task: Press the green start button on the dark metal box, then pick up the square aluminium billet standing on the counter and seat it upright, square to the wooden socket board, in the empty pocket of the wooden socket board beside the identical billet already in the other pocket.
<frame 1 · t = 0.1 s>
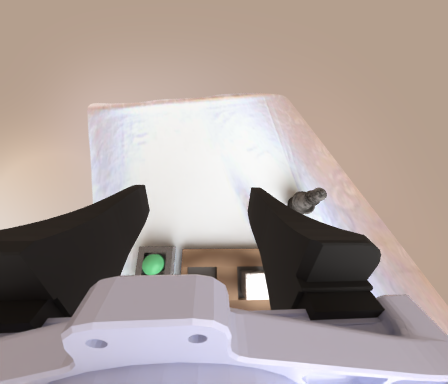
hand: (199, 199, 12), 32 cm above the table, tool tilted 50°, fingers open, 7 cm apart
salt shaker: (296, 206, 47), on the table
button box: (158, 263, 39), on the table
start button: (154, 264, 36), point 3 cm above the table, slide at 0.0 cm
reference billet: (250, 281, 39), point 1 cm above the table, touching wooden socket board
wooden socket board: (226, 281, 39), on the table
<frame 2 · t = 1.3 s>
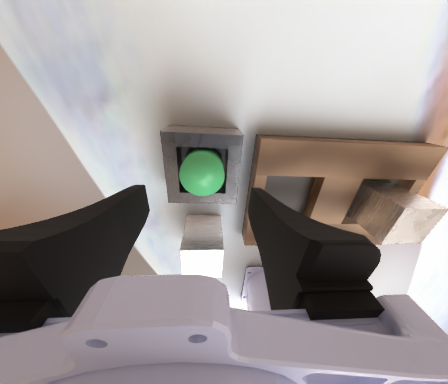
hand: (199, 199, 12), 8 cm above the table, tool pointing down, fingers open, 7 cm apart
button box: (204, 159, 19), on the table
start button: (202, 170, 16), point 3 cm above the table, slide at 0.0 cm
billet: (204, 228, 24), on the table
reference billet: (366, 196, 22), point 1 cm above the table, touching wooden socket board
wooden socket board: (323, 193, 22), on the table
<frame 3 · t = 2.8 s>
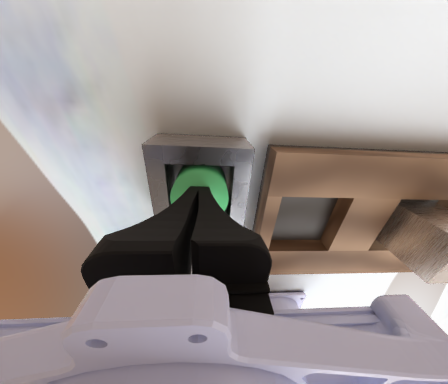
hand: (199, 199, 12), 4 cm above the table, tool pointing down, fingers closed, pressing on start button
button box: (202, 175, 15), on the table
start button: (200, 190, 13), point 3 cm above the table, slide at 0.5 cm, touching gripper
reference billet: (398, 217, 19), point 1 cm above the table, touching wooden socket board
wooden socket board: (346, 213, 19), on the table
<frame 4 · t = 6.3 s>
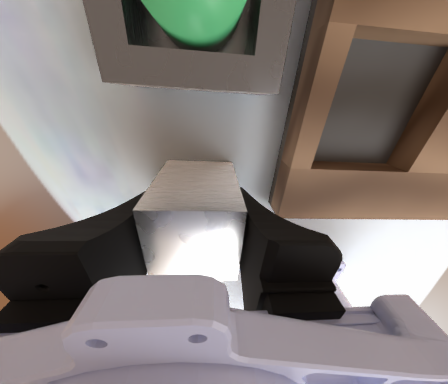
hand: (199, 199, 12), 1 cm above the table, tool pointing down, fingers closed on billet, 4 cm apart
button box: (198, 6, 8), on the table
billet: (200, 189, 13), on the table, touching gripper
wooden socket board: (434, 115, 11), on the table
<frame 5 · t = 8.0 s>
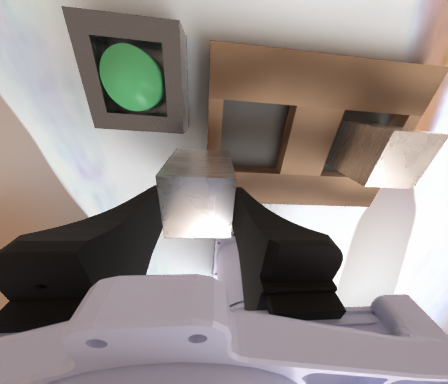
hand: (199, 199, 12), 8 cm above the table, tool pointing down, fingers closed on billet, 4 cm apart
button box: (148, 83, 15), on the table
start button: (138, 81, 13), point 2 cm above the table, slide at 0.8 cm
billet: (202, 173, 16), point 4 cm above the table, touching gripper
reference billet: (350, 144, 19), point 1 cm above the table, touching wooden socket board
wooden socket board: (299, 139, 19), on the table
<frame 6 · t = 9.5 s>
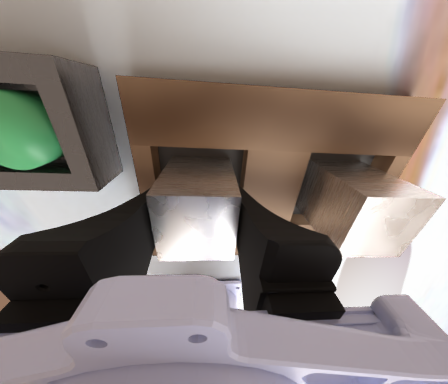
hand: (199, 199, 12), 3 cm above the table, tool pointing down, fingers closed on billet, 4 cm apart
button box: (60, 123, 12), on the table
start button: (28, 129, 10), point 2 cm above the table, slide at 0.8 cm
billet: (201, 183, 14), point 1 cm above the table, touching gripper, wooden socket board
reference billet: (326, 184, 15), point 1 cm above the table, touching wooden socket board
wooden socket board: (263, 180, 15), on the table
when the fingers open (3 cm above the table, at t = 10.1 s): billet stays where it is, resting on wooden socket board.
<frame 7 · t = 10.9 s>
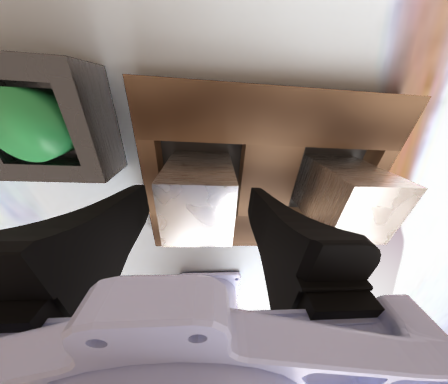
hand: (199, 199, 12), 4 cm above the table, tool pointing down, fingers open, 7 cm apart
button box: (68, 119, 13), on the table
start button: (40, 124, 11), point 2 cm above the table, slide at 0.8 cm
billet: (202, 176, 15), point 1 cm above the table, touching wooden socket board
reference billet: (320, 178, 16), point 1 cm above the table, touching wooden socket board
wooden socket board: (261, 174, 16), on the table
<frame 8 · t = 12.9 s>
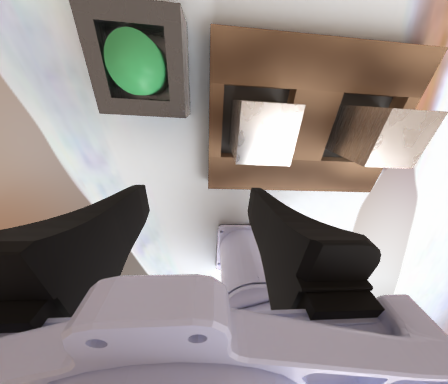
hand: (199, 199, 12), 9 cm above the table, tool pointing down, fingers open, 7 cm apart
button box: (150, 70, 16), on the table
start button: (140, 66, 14), point 2 cm above the table, slide at 0.8 cm
billet: (252, 124, 18), point 1 cm above the table, touching wooden socket board
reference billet: (350, 128, 19), point 1 cm above the table, touching wooden socket board
wooden socket board: (300, 125, 19), on the table
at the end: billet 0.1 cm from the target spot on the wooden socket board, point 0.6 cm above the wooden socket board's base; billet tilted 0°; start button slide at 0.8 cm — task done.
